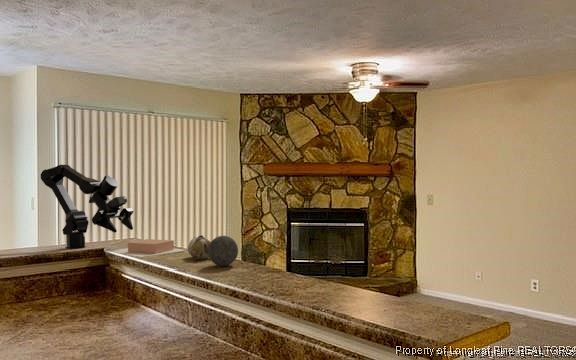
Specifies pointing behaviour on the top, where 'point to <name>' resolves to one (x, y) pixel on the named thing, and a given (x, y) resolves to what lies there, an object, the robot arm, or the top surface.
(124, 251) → the mat
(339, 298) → the top surface
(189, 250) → the ceramic sculpture
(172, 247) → the tile
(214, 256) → the decorative ball
